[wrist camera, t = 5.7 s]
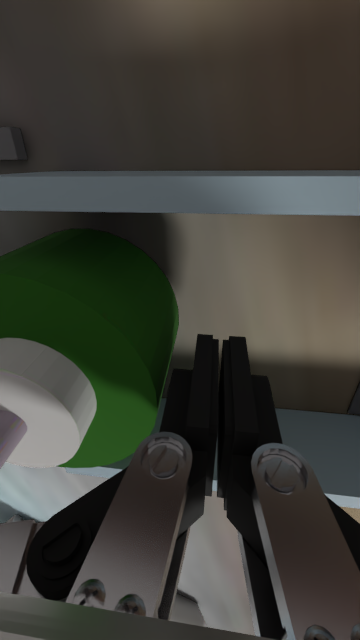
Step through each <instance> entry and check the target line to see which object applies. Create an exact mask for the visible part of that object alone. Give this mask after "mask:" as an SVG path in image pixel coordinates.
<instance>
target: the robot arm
mask: <svg viewBox="0 0 360 640" xmlns="http://www.w3.org/2000/svg"><path fill="white" fill-rule="evenodd" d="M218 359H219V340H218V339H213V335H203V334H198V336H197V343H196V351H195V359H194V367H193V370H184V369H174V370H173V373H172V377H171V381H170V386H169V390H168V395H167V399H166V404H165V408H164V413H163V417H162V421H161V426H160V430H159V432H158V433H154V434H152V435H150V436H148V437H146V438H145V439H144V440H143V441H142V442H141V443H140V444H139V446H138V447H137V449H136V451H135V453H134V455H133V457H132V459H131V462H130V464H129V466H128V467H126V468H125V469H123V470H122V471H120V472H119V473H117V474H116V475H114V476H113V477H111V478H110V479H108V480H106V481H105V482H103V483H102V484H100V485H99V486H97V487H96V488H94V489H93V490H91V491H90V492H88V493H87V494H85V495H84V496H82V497H81V498H79V499H78V500H76V501H75V502H73V503H72V504H70V505H69V506H67V507H66V508H64V509H63V510H61V511H60V512H58V513H57V514H55V515H54V516H52V517H51V518H50V519H49V520H48V521H46V522H38V523H36V522H35V520H34V519H31V520H23V521H16V522H8V523H0V640H360V524H359V523H358V522H357V521H356V520H354V519H353V518H352V517H351V516H350V515H348V514H347V513H346V512H345V511H344V510H343V509H341V508H340V507H339V506H338V505H337V504H335V503H334V502H333V501H332V500H331V499H330V498H328V497H327V496H326V495H325V494H324V493H323V490H322V488H321V486H320V484H319V482H318V479H317V477H316V475H315V473H314V471H313V469H312V467H311V465H310V464H309V462H308V461H307V460H306V459H305V458H304V457H303V456H302V455H301V454H300V453H299V452H298V451H296V450H295V449H293V448H291V447H289V446H286V445H283V442H282V438H281V433H280V429H279V424H278V420H277V415H276V411H275V406H274V402H273V398H272V393H271V389H270V384H269V380H268V377H267V376H260V375H251V372H250V365H249V359H248V352H247V345H246V338H245V337H235V336H229V340H223V347H222V358H221V369H220V380H219V391H218ZM216 444H217V497H221V498H224V510H227V518H228V519H229V520H230V522H231V523H232V524H233V525H234V526H235V528H236V529H237V530H238V540H239V546H240V552H241V557H242V563H243V569H244V574H245V580H246V586H247V592H248V597H249V603H250V609H251V614H252V620H253V626H254V631H255V636H253V635H247V634H242V633H236V632H231V631H225V630H219V629H214V628H208V627H203V626H197V625H191V624H186V623H180V622H174V621H170V620H171V615H172V611H173V606H174V601H175V597H176V592H177V587H178V583H179V578H180V573H181V569H182V564H183V560H184V555H185V550H186V546H187V541H188V536H189V532H190V526H191V525H192V524H193V523H194V522H195V521H196V520H198V519H199V518H200V517H201V516H202V515H203V513H204V500H205V496H212V486H213V475H214V465H215V455H216Z"/></svg>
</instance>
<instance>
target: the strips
mask: <svg viewBox="0 0 360 640" xmlns="http://www.w3.org/2000/svg"><path fill="white" fill-rule="evenodd" d="M0 160H28V159H27V155H26V151H25V147H24V143H23V139H22V135H21V130H20V128H14V127H0Z"/></svg>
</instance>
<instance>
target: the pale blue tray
mask: <svg viewBox="0 0 360 640" xmlns="http://www.w3.org/2000/svg"><path fill="white" fill-rule="evenodd" d="M0 211H64V212H136V213H209V214H282V215H355V216H360V170H268V171H48V172H32V173H15V174H0ZM165 404H166V399H165V398H161V401H160V405H159V409H158V413H157V418H156V422H155V426H154V428H153V430H152V432H151V434H150V435H152V434H154V433H158V432H159V430H160V426H161V421H162V417H163V413H164V408H165ZM275 411H276V415H277V420H278V424H279V429H280V433H281V438H282V442H283V445H286V446H289V447H291V448H293V449H295V450H296V451H298V452H299V453H300V454H301V455H302V456H303V457H304V458H305V459H306V460H307V461H308V462H309V464H310V465H311V467H312V469H313V471H314V473H315V475H316V477H317V479H318V482H319V484H320V486H321V488H322V490H323V493H324V494H325V495H326V496H327V497H328V498H330V499H331V500H332V501H333V502H334V503H335V504H337V505H338V506H342V507H351V508H359V509H360V416H358V415H346V414H335V413H323V412H312V411H301V410H289V409H278V408H275ZM347 412H348V413H349V414H360V383H359V385H358V387H357V390H356V392H355V395H354V397H353V399H352V402H351V404H350V407H349V409H348V411H347ZM134 453H135V452H134ZM134 453H133V454H131V455H130V456H128V457H126V458H125V459H123V460H120V461H117V462H115V463H112V464H109V465H104V466H98V467H93V468H67V467H65V469H66V472H67V473H73V474H81V475H90V476H98V477H106V478H111V477H113V476H114V475H116V474H117V473H119V472H120V471H122V470H123V469H125V468H126V467H128V466H129V464H130V462H131V459H132V457H133V455H134ZM212 491H217V444H216V455H215V465H214V475H213V486H212Z"/></svg>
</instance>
